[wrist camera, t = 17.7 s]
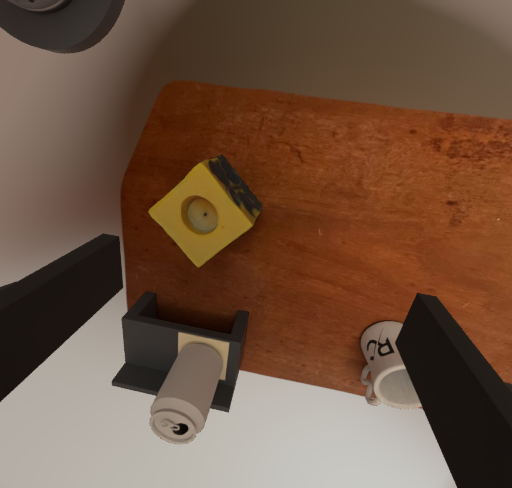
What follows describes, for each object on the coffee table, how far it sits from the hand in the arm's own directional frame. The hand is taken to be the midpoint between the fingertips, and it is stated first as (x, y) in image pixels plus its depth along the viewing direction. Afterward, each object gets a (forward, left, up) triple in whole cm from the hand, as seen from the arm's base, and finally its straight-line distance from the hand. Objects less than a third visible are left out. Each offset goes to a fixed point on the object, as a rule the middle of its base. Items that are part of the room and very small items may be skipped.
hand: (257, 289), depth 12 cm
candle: (-5, -10, -31) cm, 33 cm away
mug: (+33, -11, -31) cm, 46 cm away
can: (+9, -30, -23) cm, 39 cm away
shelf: (+7, -33, -31) cm, 45 cm away
